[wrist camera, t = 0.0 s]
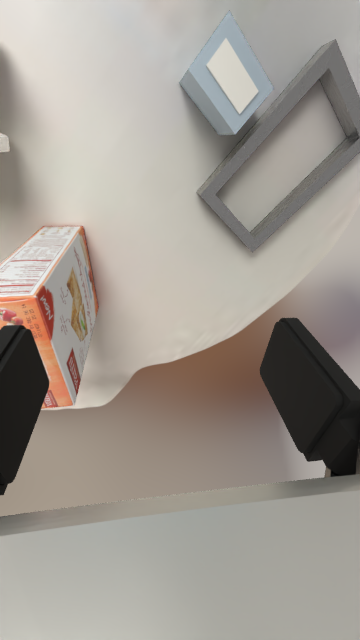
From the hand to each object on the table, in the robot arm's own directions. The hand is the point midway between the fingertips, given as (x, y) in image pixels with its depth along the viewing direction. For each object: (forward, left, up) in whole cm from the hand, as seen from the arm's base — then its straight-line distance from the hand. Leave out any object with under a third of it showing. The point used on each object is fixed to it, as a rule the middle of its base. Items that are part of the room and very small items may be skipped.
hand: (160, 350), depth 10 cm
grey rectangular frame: (-15, +11, -31) cm, 36 cm away
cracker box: (+16, -2, -31) cm, 35 cm away
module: (-14, -1, -31) cm, 34 cm away
